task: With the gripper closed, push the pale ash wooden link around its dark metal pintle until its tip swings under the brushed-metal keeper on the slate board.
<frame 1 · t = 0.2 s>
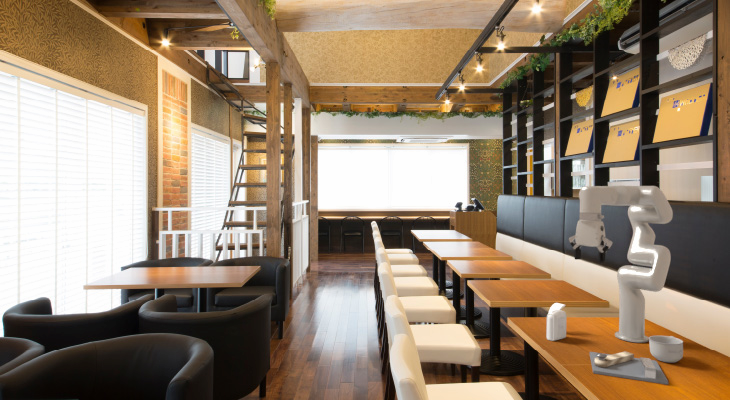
hand: (589, 260, 172), 36 cm above the table, tool pointing down, fingers open, 9 cm apart
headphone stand: (556, 330, 201), on the table
link: (613, 356, 160), point 3 cm above the table, hinge at 50.0°
slate board: (625, 368, 158), on the table
teacup: (667, 359, 167), on the table
keeper: (647, 375, 152), resting on slate board
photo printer: (556, 338, 190), on the table
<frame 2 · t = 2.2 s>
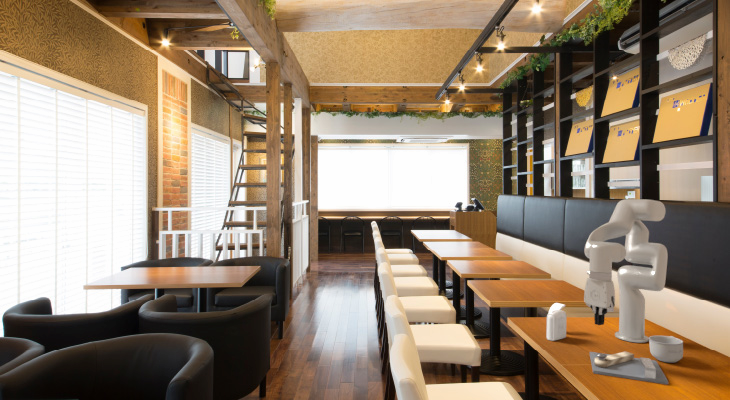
hand: (599, 324, 166), 13 cm above the table, tool pointing down, fingers closed
nothing on the table moved.
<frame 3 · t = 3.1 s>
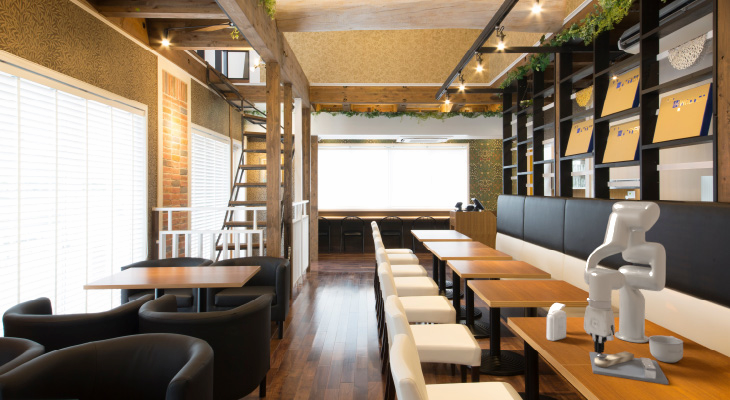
hand: (599, 352, 167), 3 cm above the table, tool pointing down, fingers closed
nothing on the table moved.
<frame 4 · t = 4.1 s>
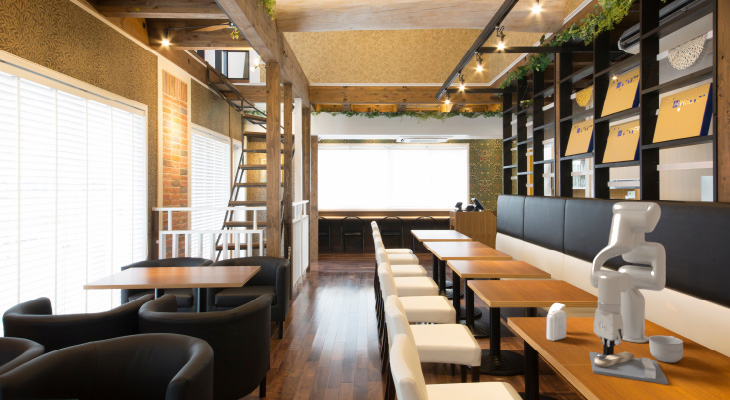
hand: (608, 355, 164), 2 cm above the table, tool pointing down, fingers closed
link: (614, 356, 160), point 3 cm above the table, hinge at 49.8°, touching gripper
everything else where it was.
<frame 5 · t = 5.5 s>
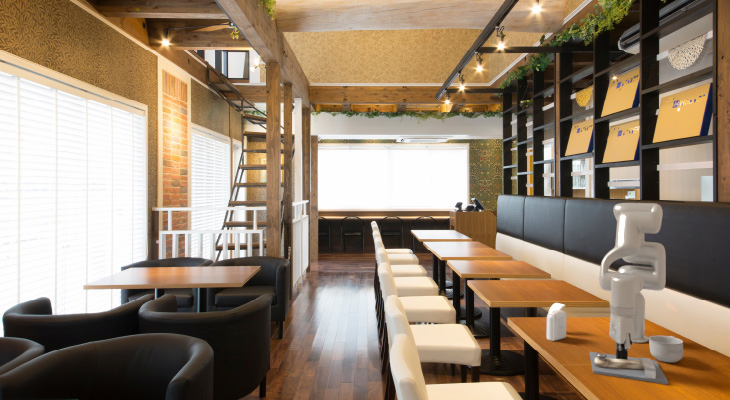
hand: (621, 360, 159), 2 cm above the table, tool pointing down, fingers closed
link: (622, 360, 156), point 3 cm above the table, hinge at 16.4°, touching gripper
everything else where it was.
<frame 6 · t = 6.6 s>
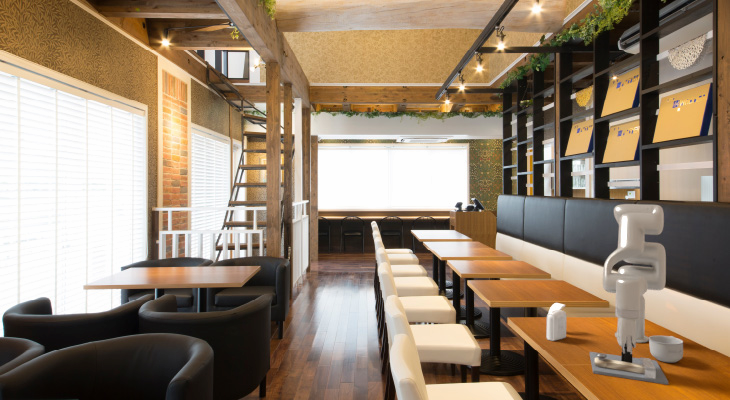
hand: (626, 363, 156), 2 cm above the table, tool pointing down, fingers closed
link: (623, 363, 154), point 3 cm above the table, hinge at -3.8°, touching gripper
everything else where it was.
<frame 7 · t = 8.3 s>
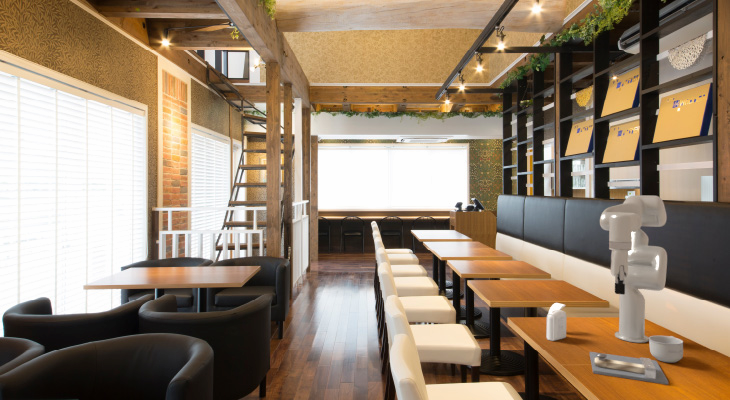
hand: (619, 293, 168), 25 cm above the table, tool pointing down, fingers closed
link: (623, 363, 154), point 3 cm above the table, hinge at -3.9°
everything else where it was.
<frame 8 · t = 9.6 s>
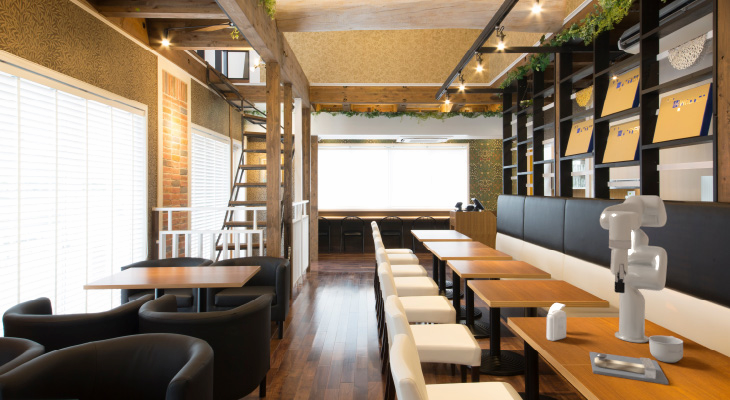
hand: (619, 292, 168), 25 cm above the table, tool pointing down, fingers closed
nothing on the table moved.
at the end: link at -4° (first picture: +50°) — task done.
